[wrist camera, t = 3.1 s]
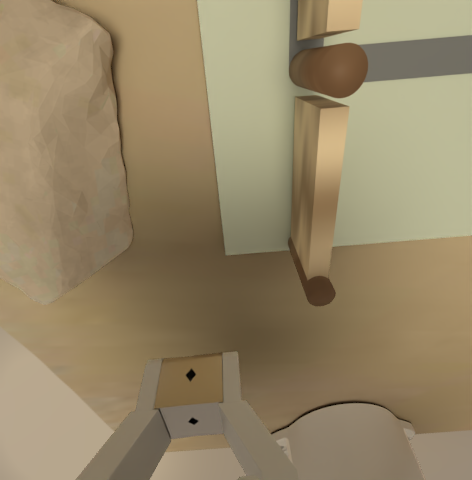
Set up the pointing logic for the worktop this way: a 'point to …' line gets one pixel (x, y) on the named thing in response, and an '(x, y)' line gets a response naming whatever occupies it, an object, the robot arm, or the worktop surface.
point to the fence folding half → (316, 190)
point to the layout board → (359, 121)
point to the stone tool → (58, 150)
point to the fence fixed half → (329, 48)
